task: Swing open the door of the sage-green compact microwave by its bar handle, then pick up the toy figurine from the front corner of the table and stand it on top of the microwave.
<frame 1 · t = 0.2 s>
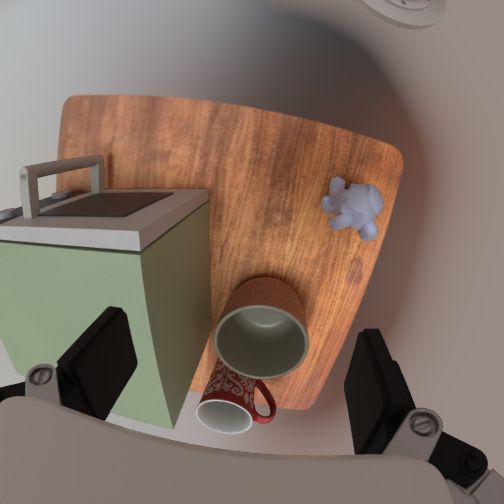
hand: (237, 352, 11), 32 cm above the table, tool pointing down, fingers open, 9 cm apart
microwave door: (108, 185, 31), point 11 cm above the table, hinge at 0.0°
mug: (245, 366, 52), on the table
toy figurine: (342, 195, 39), on the table
planter: (266, 303, 47), on the table
microwave: (131, 264, 47), on the table
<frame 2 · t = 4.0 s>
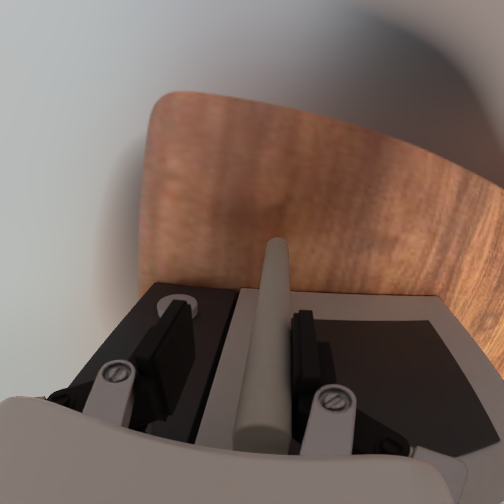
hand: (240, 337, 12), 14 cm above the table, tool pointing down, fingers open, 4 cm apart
microwave door: (389, 349, 15), point 11 cm above the table, hinge at 0.0°, touching gripper
microwave: (289, 389, 30), on the table
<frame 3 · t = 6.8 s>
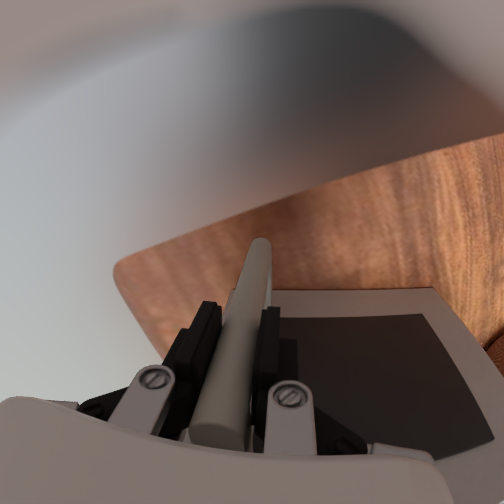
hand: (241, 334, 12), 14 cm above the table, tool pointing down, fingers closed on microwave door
microwave door: (373, 346, 15), point 11 cm above the table, hinge at 29.0°, touching gripper
planter: (499, 354, 27), on the table
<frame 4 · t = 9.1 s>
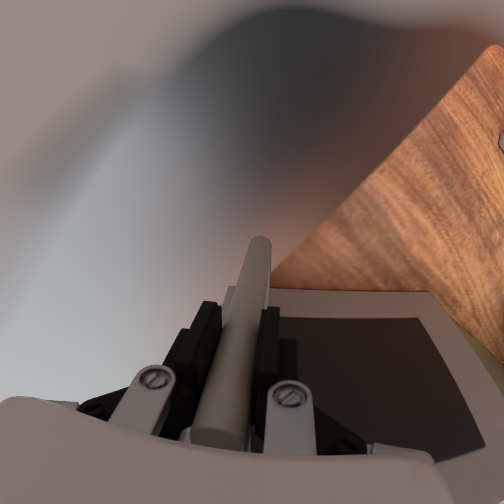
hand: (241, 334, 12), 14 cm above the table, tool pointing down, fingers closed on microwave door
microwave door: (370, 349, 15), point 11 cm above the table, hinge at 58.5°, touching gripper
microwave: (401, 411, 31), on the table
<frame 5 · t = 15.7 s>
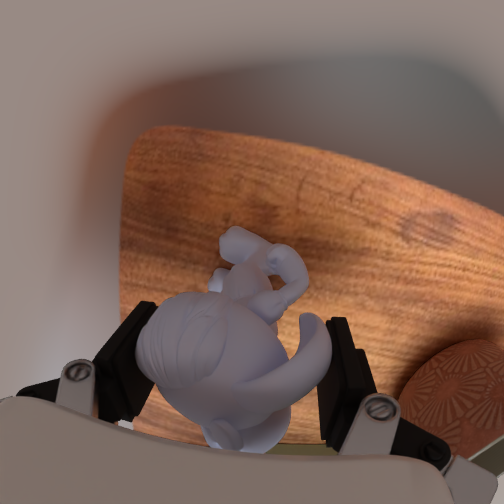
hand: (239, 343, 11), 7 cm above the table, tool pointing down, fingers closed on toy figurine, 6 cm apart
toy figurine: (252, 269, 18), on the table, touching gripper
planter: (445, 377, 20), on the table
microwave: (339, 489, 29), on the table
when the fingers open (29 cm above the table, at t = 22.9 s): toy figurine stays where it is, resting on microwave.
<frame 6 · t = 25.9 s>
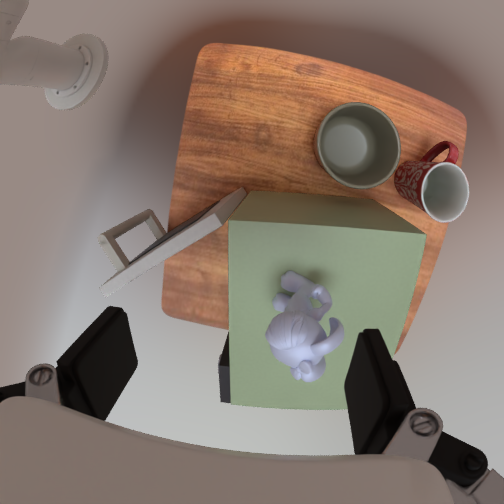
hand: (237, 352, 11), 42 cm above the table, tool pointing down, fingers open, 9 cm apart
microwave door: (170, 218, 42), point 11 cm above the table, hinge at 57.4°
mug: (414, 172, 46), on the table
toy figurine: (297, 293, 32), point 22 cm above the table, touching microwave
planter: (344, 145, 46), on the table
microwave: (307, 268, 55), on the table
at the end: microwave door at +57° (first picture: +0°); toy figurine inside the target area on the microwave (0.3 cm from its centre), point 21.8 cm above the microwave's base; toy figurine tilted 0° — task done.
